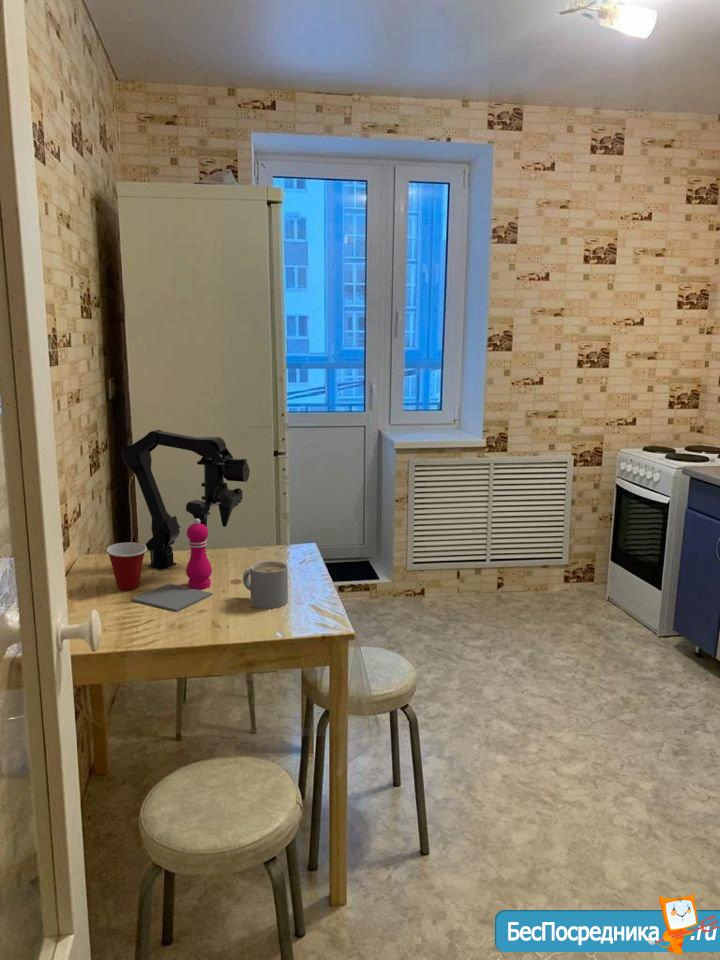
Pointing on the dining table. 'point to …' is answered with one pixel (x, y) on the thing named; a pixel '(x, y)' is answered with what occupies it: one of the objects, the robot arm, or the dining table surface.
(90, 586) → the dining table surface
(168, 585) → the mat
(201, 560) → the pepper mill
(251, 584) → the coffee mug
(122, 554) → the plastic cup
